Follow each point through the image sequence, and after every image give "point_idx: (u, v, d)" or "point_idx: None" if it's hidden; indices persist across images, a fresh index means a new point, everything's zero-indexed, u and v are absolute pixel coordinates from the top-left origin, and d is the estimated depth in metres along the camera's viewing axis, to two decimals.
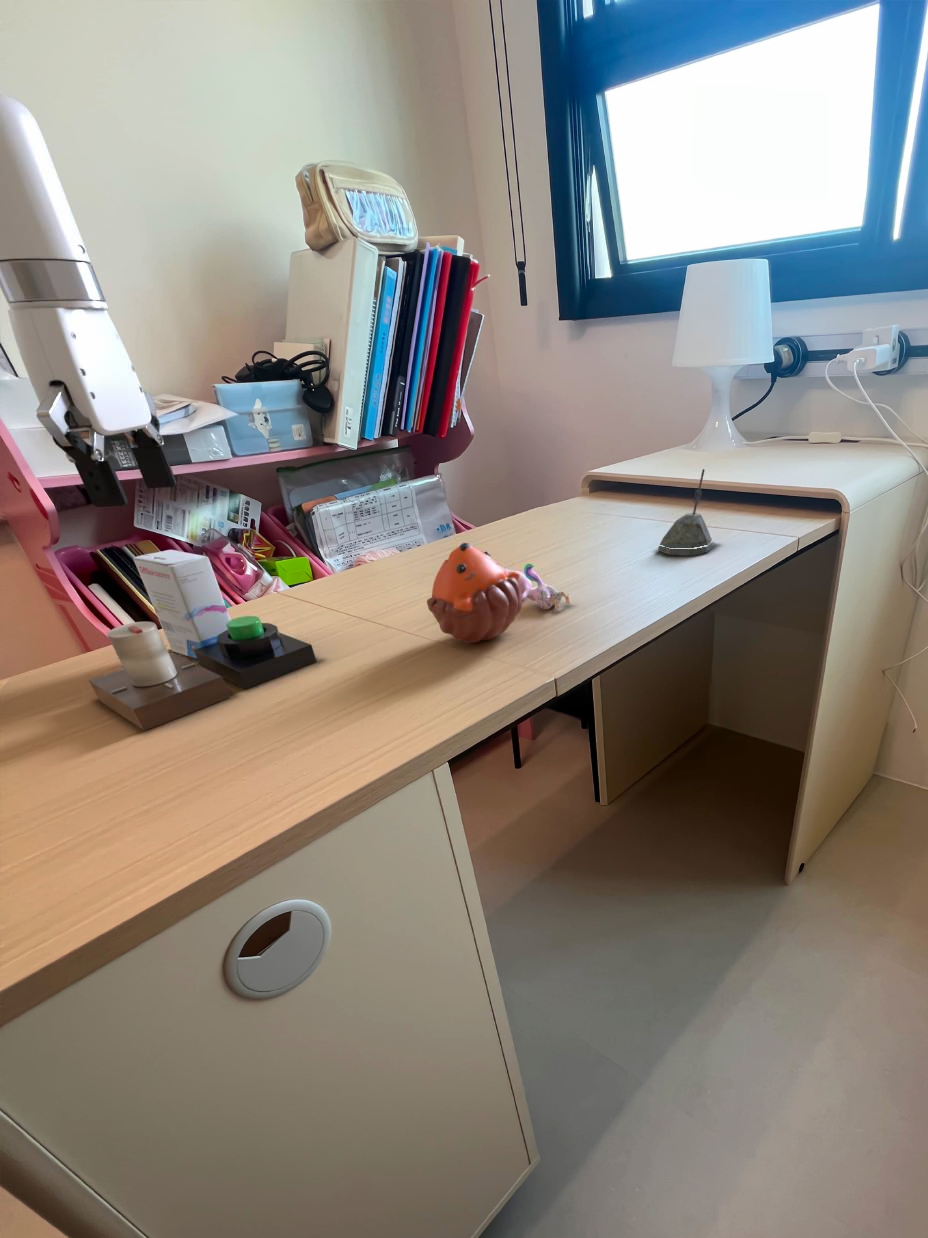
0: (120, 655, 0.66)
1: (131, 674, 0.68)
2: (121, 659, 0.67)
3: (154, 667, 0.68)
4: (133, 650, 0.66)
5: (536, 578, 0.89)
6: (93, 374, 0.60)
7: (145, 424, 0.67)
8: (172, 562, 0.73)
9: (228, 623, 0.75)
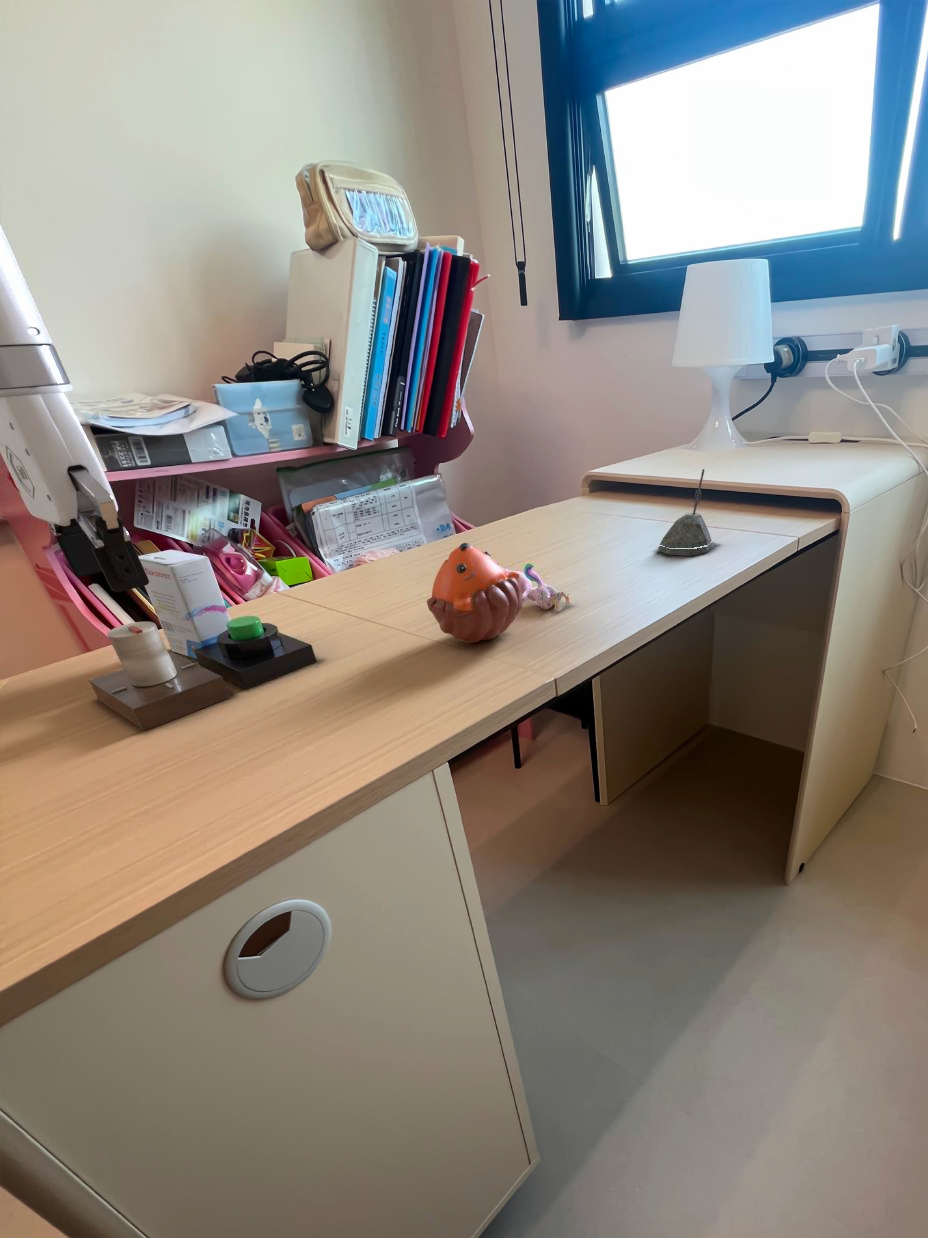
0: (120, 655, 0.66)
1: (131, 674, 0.68)
2: (121, 659, 0.67)
3: (154, 667, 0.68)
4: (133, 650, 0.66)
5: (536, 578, 0.89)
6: None
7: None
8: (172, 562, 0.73)
9: (228, 623, 0.75)
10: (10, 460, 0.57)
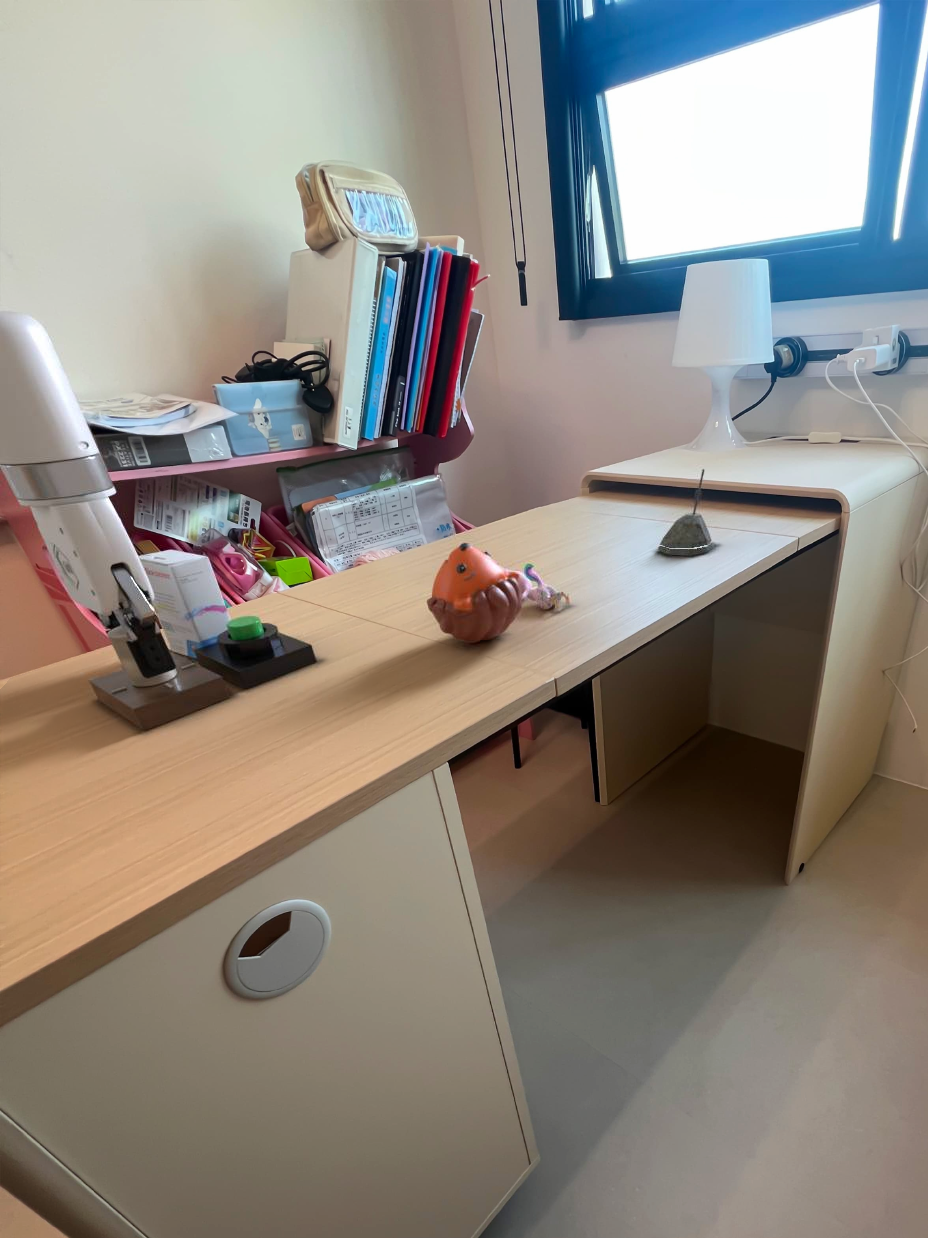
0: (120, 655, 0.66)
1: (131, 674, 0.68)
2: (121, 659, 0.67)
3: None
4: None
5: (536, 578, 0.89)
6: None
7: None
8: (172, 562, 0.73)
9: (228, 623, 0.75)
10: (56, 555, 0.61)
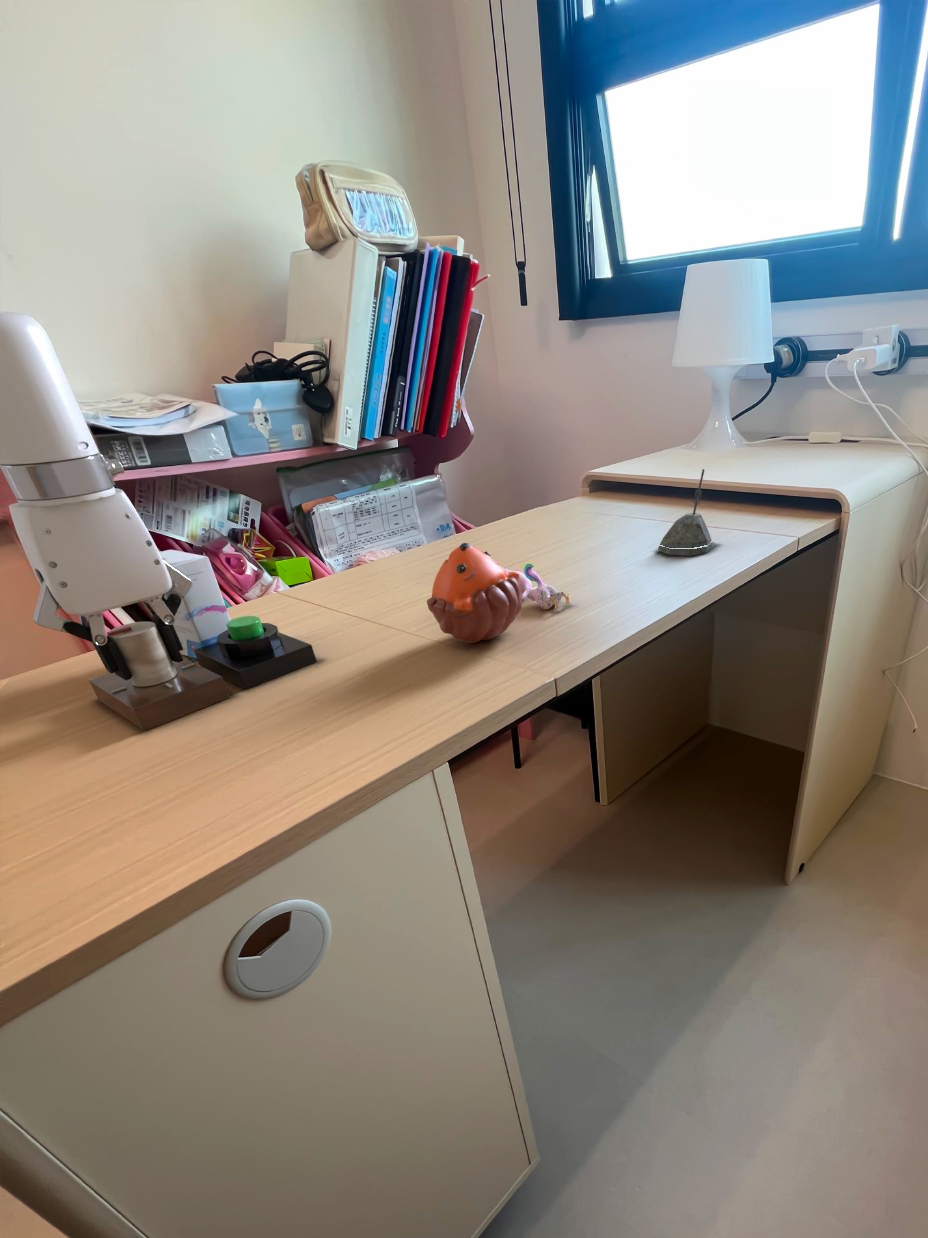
0: None
1: None
2: None
3: None
4: None
5: (536, 578, 0.89)
6: (69, 564, 0.59)
7: (155, 595, 0.66)
8: (172, 562, 0.73)
9: (228, 623, 0.75)
10: None
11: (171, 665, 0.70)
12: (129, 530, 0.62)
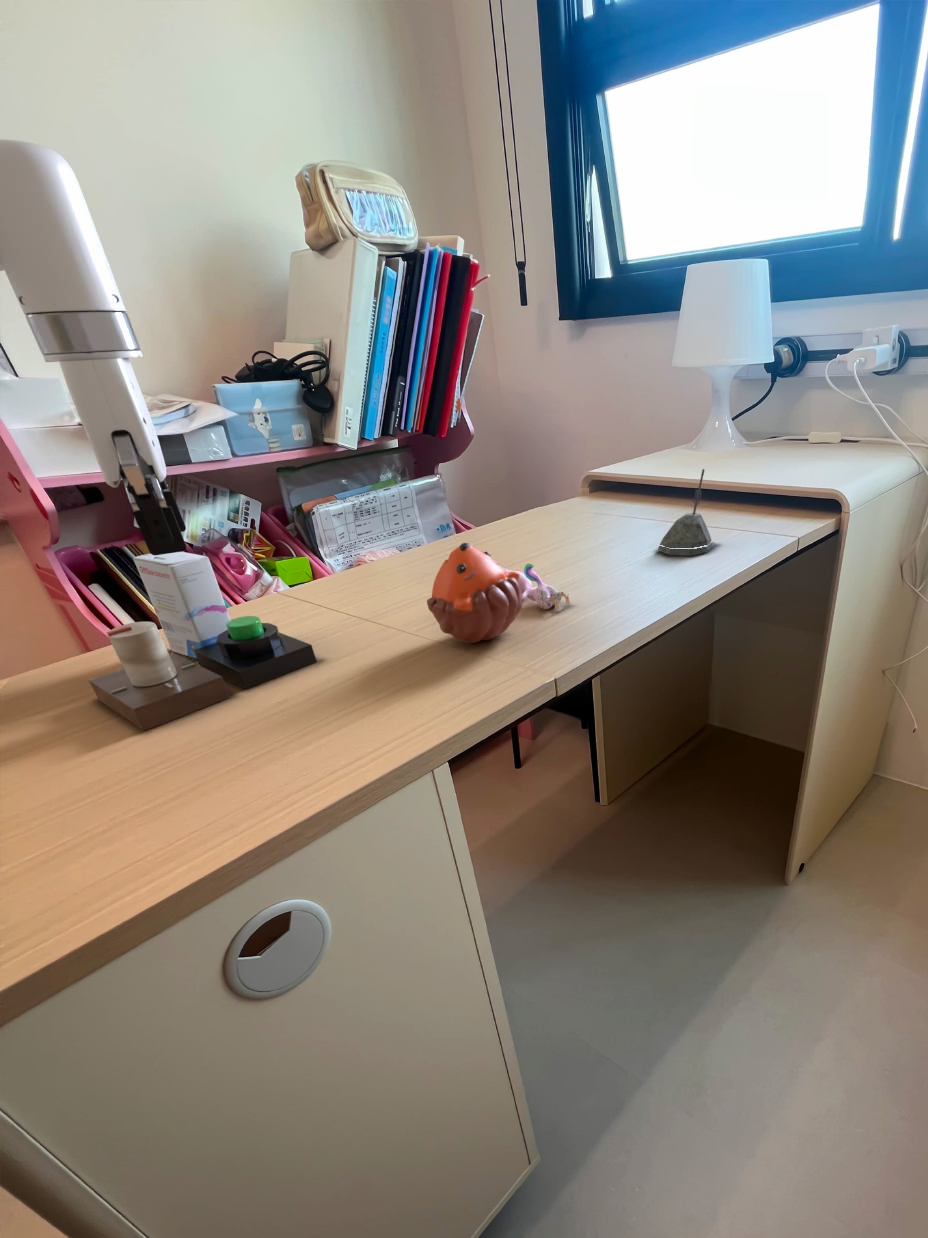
0: None
1: None
2: None
3: (124, 669, 0.68)
4: None
5: (536, 578, 0.89)
6: (148, 422, 0.59)
7: (165, 470, 0.66)
8: (172, 562, 0.73)
9: (228, 623, 0.75)
10: None
11: (171, 665, 0.70)
12: None
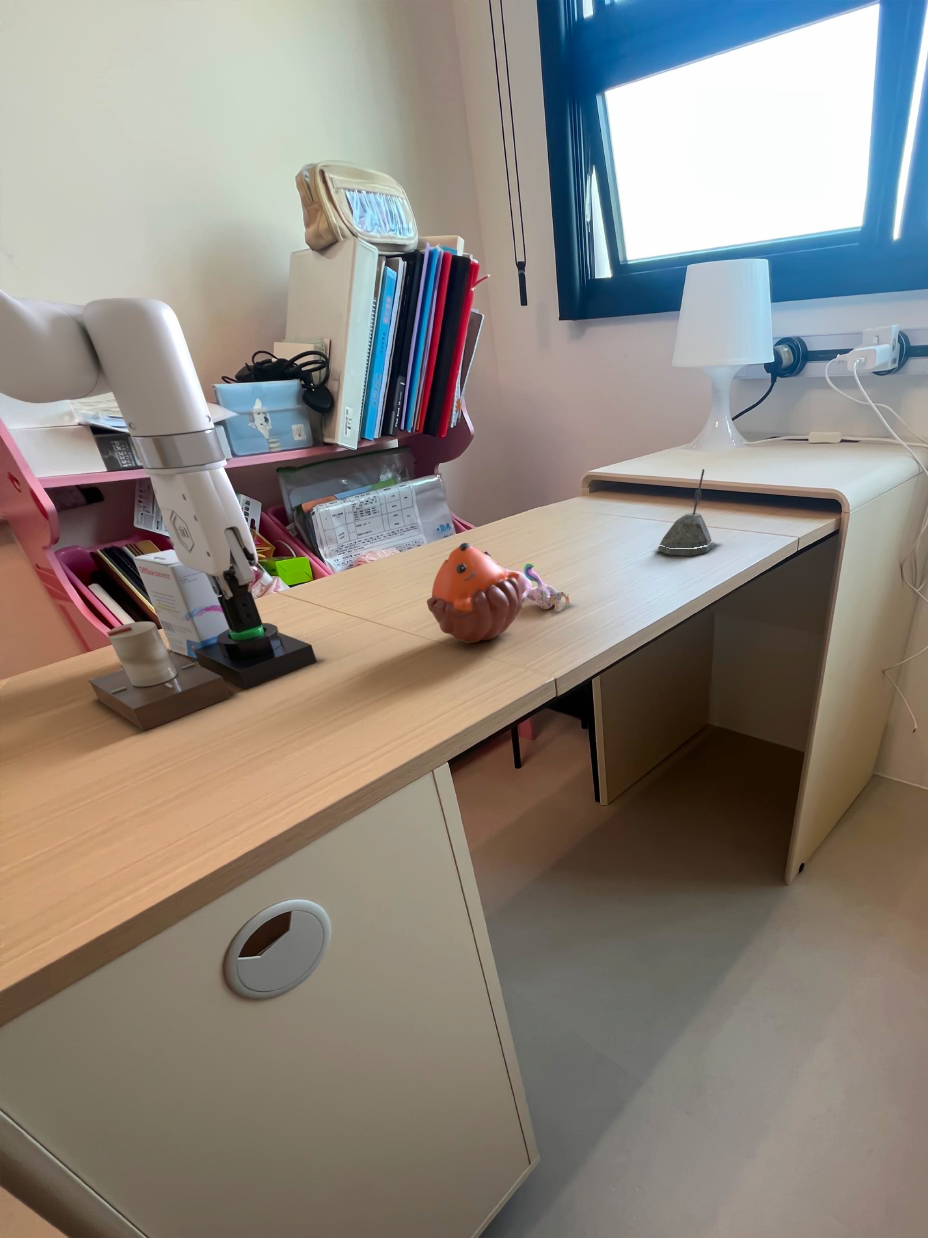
0: None
1: None
2: None
3: (124, 669, 0.68)
4: None
5: (536, 578, 0.89)
6: None
7: None
8: (172, 562, 0.73)
9: (231, 630, 0.75)
10: (173, 521, 0.68)
11: (171, 665, 0.70)
12: None
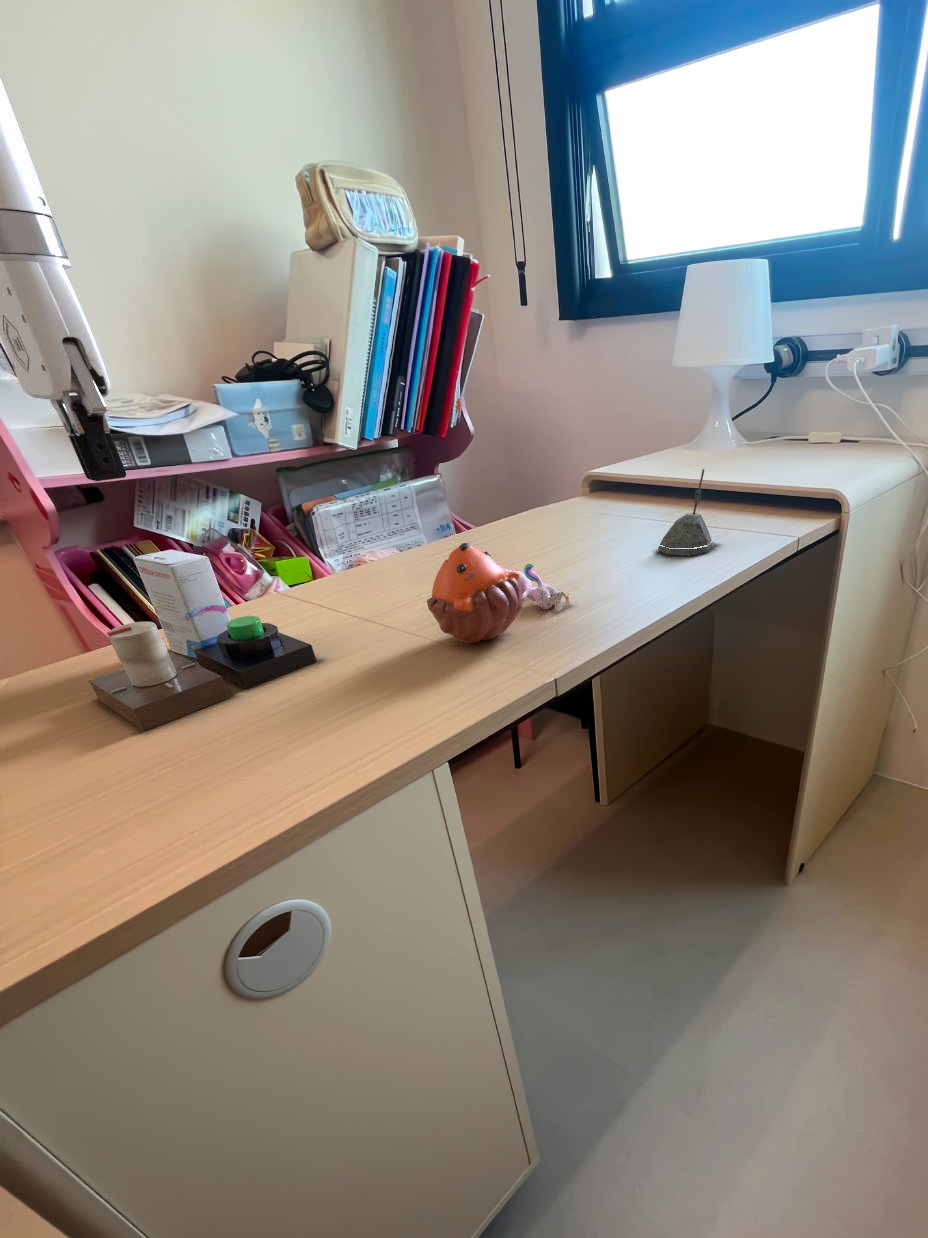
0: None
1: None
2: None
3: (124, 669, 0.68)
4: None
5: (536, 578, 0.89)
6: None
7: None
8: (172, 562, 0.73)
9: (228, 623, 0.75)
10: (6, 332, 0.58)
11: (171, 665, 0.70)
12: None
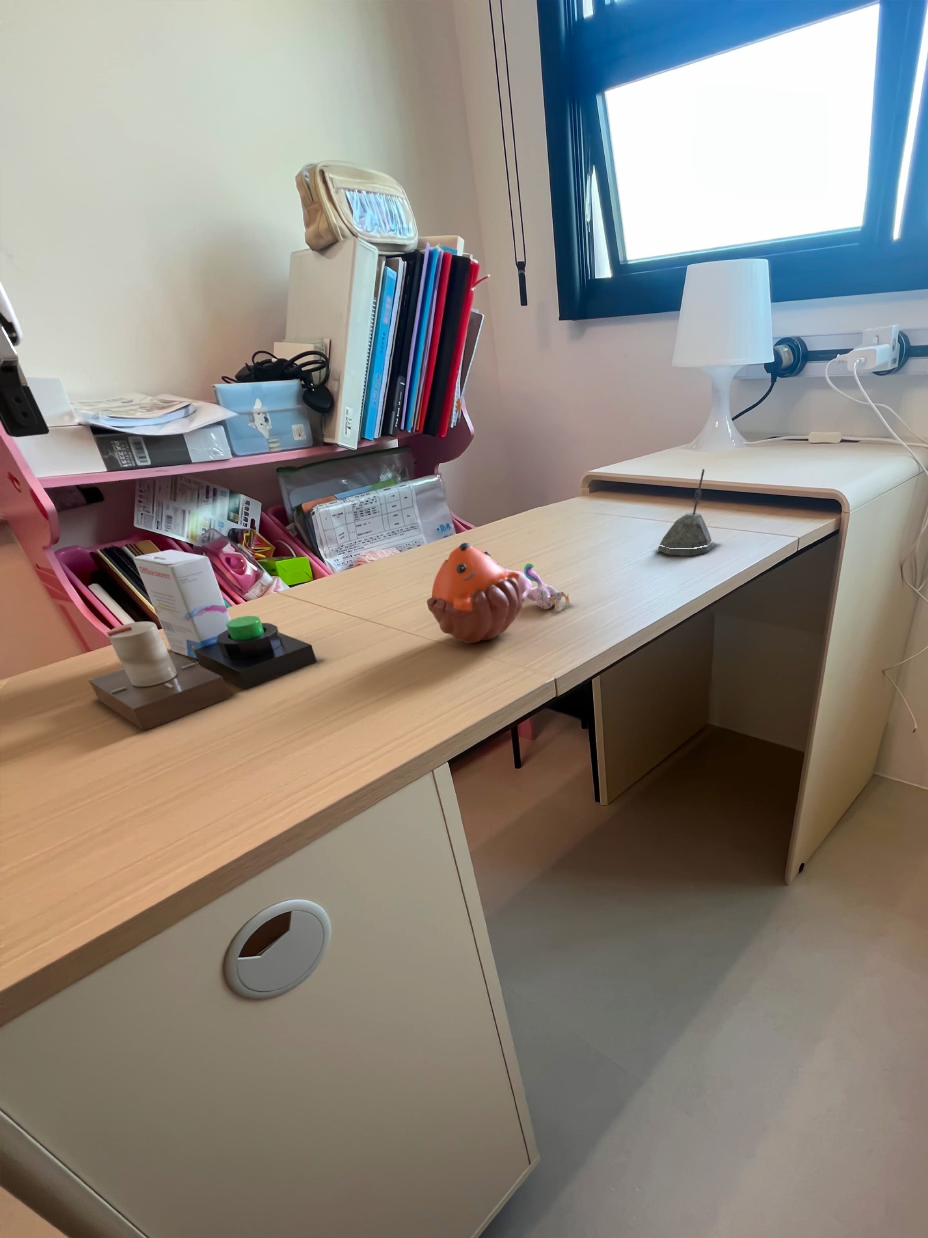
0: None
1: None
2: None
3: (124, 669, 0.68)
4: None
5: (536, 578, 0.89)
6: None
7: None
8: (172, 562, 0.73)
9: (228, 623, 0.75)
10: None
11: (171, 665, 0.70)
12: None
